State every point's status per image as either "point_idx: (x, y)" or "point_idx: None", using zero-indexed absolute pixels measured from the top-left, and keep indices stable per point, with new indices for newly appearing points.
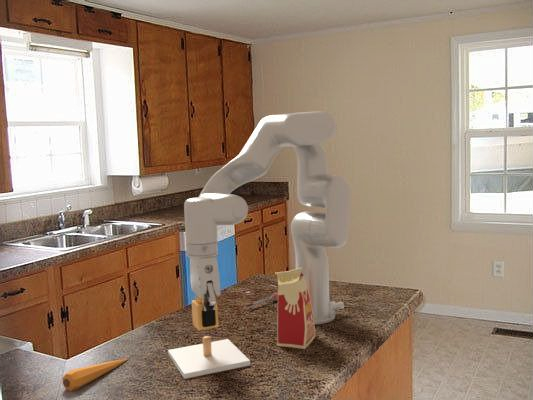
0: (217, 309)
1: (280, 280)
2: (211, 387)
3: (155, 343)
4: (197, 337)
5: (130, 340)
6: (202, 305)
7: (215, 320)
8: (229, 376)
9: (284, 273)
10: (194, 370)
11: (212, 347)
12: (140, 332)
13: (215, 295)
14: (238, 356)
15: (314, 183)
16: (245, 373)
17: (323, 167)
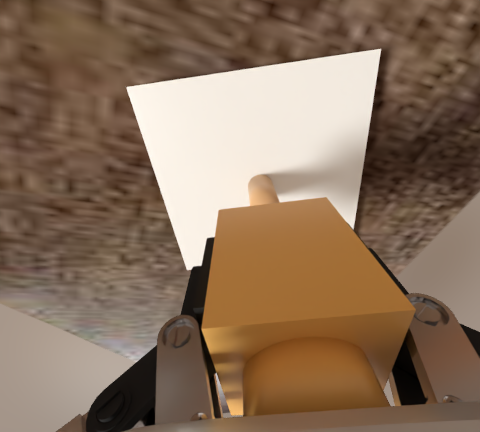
0: (377, 262)
1: None
2: (428, 199)
3: (107, 279)
4: (64, 182)
5: (83, 316)
6: (391, 386)
7: (357, 235)
8: (402, 143)
9: None
10: None
11: (201, 162)
12: (27, 300)
13: (458, 410)
14: (321, 87)
15: None
16: (418, 88)
17: None
